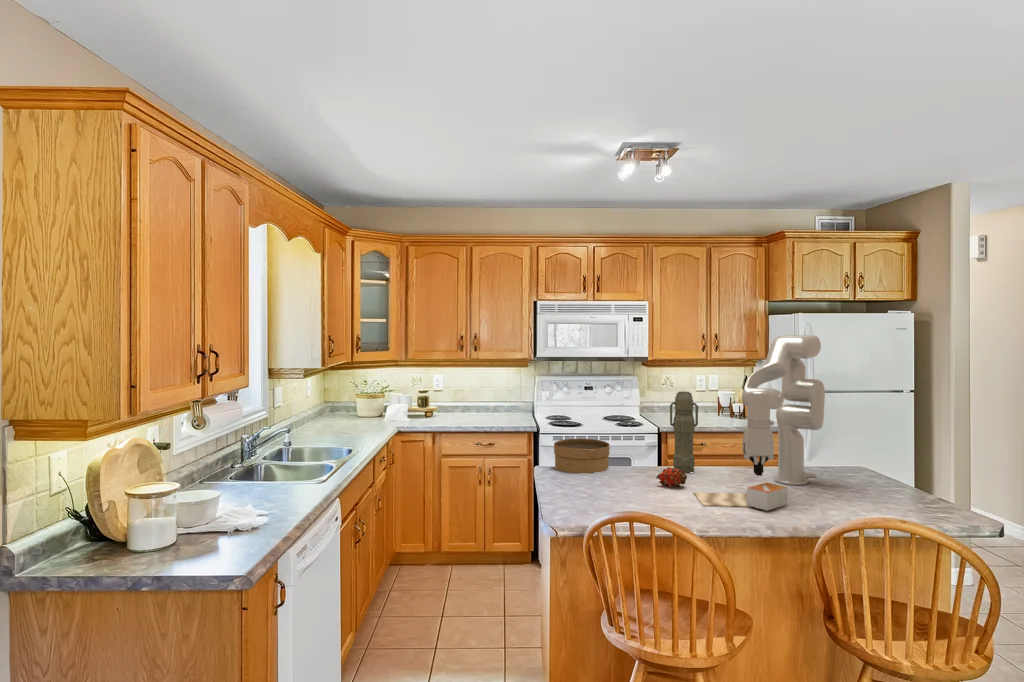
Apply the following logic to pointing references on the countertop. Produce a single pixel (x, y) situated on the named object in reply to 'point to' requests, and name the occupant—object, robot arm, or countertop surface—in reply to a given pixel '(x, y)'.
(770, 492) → the small box
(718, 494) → the maple board
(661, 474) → the dragon fruit
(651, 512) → the countertop surface
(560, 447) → the steamer basket
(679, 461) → the thermos
